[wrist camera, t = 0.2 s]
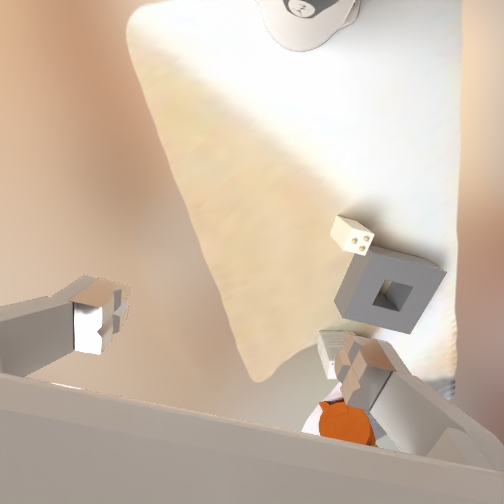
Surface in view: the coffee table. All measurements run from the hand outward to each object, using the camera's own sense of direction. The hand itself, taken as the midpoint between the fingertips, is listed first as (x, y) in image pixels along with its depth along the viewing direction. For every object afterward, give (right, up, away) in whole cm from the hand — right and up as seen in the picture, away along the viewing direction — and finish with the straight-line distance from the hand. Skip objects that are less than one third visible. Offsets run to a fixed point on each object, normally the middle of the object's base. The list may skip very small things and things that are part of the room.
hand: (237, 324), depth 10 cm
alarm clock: (+26, -43, +66) cm, 83 cm away
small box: (+22, -20, +58) cm, 65 cm away
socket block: (+31, -4, +51) cm, 60 cm away
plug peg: (+21, +8, +47) cm, 52 cm away
